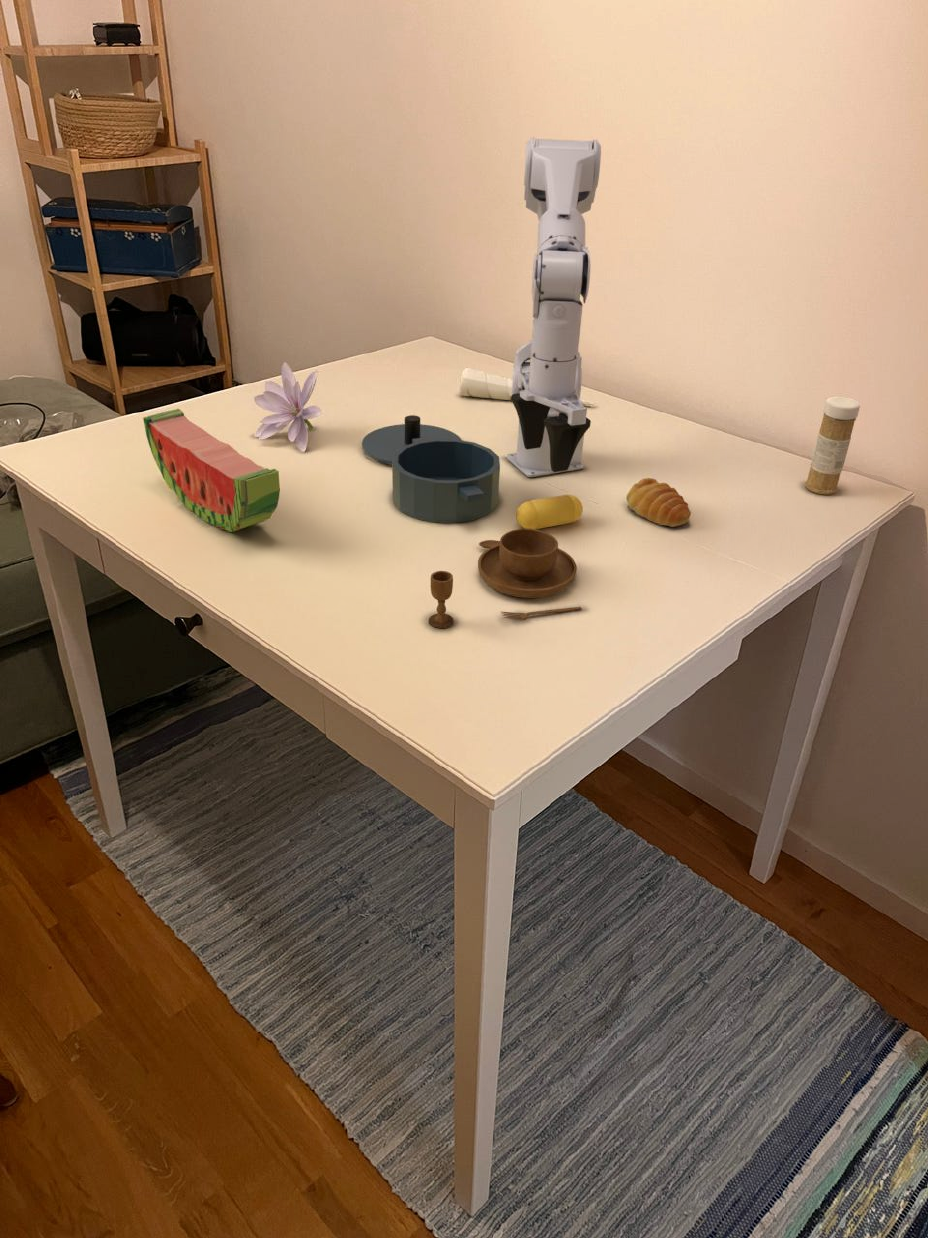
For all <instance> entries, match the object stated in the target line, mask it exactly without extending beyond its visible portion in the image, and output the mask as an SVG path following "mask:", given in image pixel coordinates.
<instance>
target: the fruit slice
mask: <svg viewBox="0 0 928 1238" xmlns="http://www.w3.org/2000/svg"><path fill="white" fill-rule="evenodd" d="M184 414H185V413H184V412H183V410H181V409H179V408H175V409H172V410H171V409H170V410H167V411H163V412H158V413H155V414H150V415H146V416H143V417H142V420H143V426H144V431H145V436H146V439H147V443H148V446H149V449H150V452H151V454H152V458H153V459H154V462H155V464H156V466H157V468H158V470H159V472H160V473H161V476H162V478H163V480H164V481H165V483H166V484H167V486H168V487H169V488H170V490H171V491H173V492H174V493H175V495H176V496H177V497H178V499H179V500H180V502H182V504H183V505H184V506H185V507H186V508H187V509H188V510H189V511H190V512H192V513H193V514H194V515H195V516H197V517H198V518H199V519H201V520H203V521H204V522H206V523H208V524H211V525H213V526H214V527H218V529H222V530H225V531H228V532H230V533H234V532H236V531H239V530H242V529H245V528H248V527H252V526H255V525H257V524H260V523H263V522H265V521H269V520H271V518H272V516H273V514H274V512H275V511H276V509H277V507H278V505H279V500H280V492H281V486H280V485H281V484H280V473H279V470H277V469H276V468H272V469H269V468H267V467H266V468H265V467H263V466H261V465H258V464H257V463H256V462H254V461H253V460H252V459H250V458H248V457H245V456H244V455H242V454H240V453H238V451H236V450H235V449H234V448H233V446H231V445H230V444H229V443H226V442H223V441H220V440H219V439H218V438H216V437H214V436H213V435H212V434H210V433H208V432H207V431H206V430H204V429H203V428H202V427H201V426H199V425H197V424H195V423H194V422H193V421H191V420H189V419H188V417H186V416H185V415H184Z"/></svg>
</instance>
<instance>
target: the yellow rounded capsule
mask: <svg viewBox="0 0 928 1238" xmlns="http://www.w3.org/2000/svg"><path fill="white" fill-rule="evenodd" d="M582 513H583V504H582V501H581V500H580V498H578V497H577V496H575V495H574V494H563V495H557V496H552V497H545V498H540V499H534V500H528V501H525V502H523V503H522V504H521V505H520V506H519V507H518V509H517V511H516V520H517V523H518V524H519V526H520V527H522V529H536V530H540V529H545V528H549V527H556V526H561V525H567V524H573V523H575V522H576V521H578V520H579V519H580V517H581V516H582Z"/></svg>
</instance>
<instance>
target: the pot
mask: <svg viewBox="0 0 928 1238" xmlns="http://www.w3.org/2000/svg"><path fill="white" fill-rule="evenodd" d="M500 462H501V461H500V456H499V455H498V454H497V453H496V452H495V451H493V450H492V449H491V448H489V447H486V446H484V445H482V444H479V443H477V442H473V441H469V440H463V439H461V440H457V439H432V440H430V439H429V438H428V437H424V438H416V439H412V444H409V445H407V446H404V447H402V448H400V449H399V450H398V451H397V452H396V453H395V454H393V461H392V464H391V465H392V466H391V469H392V471H391V472H392V473H391V474H392V501H393V504H394V506H395V507H396V509H398V510H399V511H400V512H401V513H402V514H405V515H406V516H408V517H410V518H413V519H416V520H419V521H423V522H428V523H436V524H458V523H459V524H460V523H466V522H471V521H475V520H478V519H481V518H483V517H485V516H487V515H489V514H490V513H492V512H493V511H494V510H495V509H496V507H497V505H498V502H499V493H500V492H499V491H500V475H501V473H500V472H501V463H500Z"/></svg>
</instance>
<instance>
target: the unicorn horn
mask: <svg viewBox="0 0 928 1238" xmlns="http://www.w3.org/2000/svg"><path fill="white" fill-rule="evenodd" d="M459 382H460V384H459V391H460V392H459V393H460V395H461V396H463V397H473V398H483V399H494V400H502V401H503V400H504V401H512V400H511V396H512V383H513V378H510V377H509V378H508V377H506V378H505V377H504V376H501V375H498V374H493V373H491V372H487V373H486V372H485V371H482V370H478V369H474V368H471V367H465V368H464V369H463V371H462V374H461V376H460V381H459ZM580 401H581V403H582V405H583V406H584V407H586V406H587V407H588V406H589V407H590V406H595V402H594V403H593V402H592V401H589V400H586V399H583V398H580Z"/></svg>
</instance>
